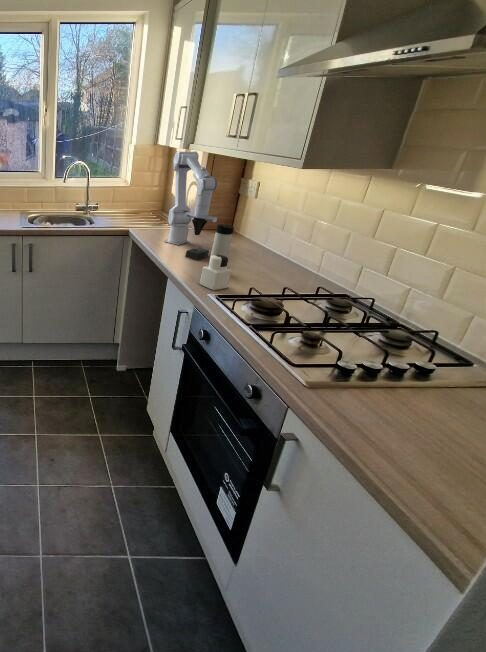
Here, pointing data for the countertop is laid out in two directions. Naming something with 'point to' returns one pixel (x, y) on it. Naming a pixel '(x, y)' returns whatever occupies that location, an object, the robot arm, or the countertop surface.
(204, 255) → the grey t-shaped block
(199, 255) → the black notched block
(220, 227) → the travel mug
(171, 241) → the robot arm
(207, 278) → the white block with post
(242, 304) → the countertop surface
